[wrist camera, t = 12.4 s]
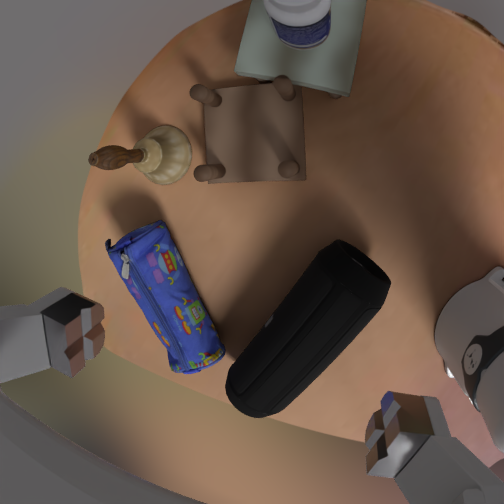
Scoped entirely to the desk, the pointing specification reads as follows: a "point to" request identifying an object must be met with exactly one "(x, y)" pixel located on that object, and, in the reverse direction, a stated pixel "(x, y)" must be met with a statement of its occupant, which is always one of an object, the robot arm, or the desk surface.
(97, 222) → the desk surface
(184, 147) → the hand bell
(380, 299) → the portable speaker
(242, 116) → the upturned stool
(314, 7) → the pill bottle
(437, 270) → the desk surface
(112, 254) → the pencil case
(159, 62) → the desk surface
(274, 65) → the small table
